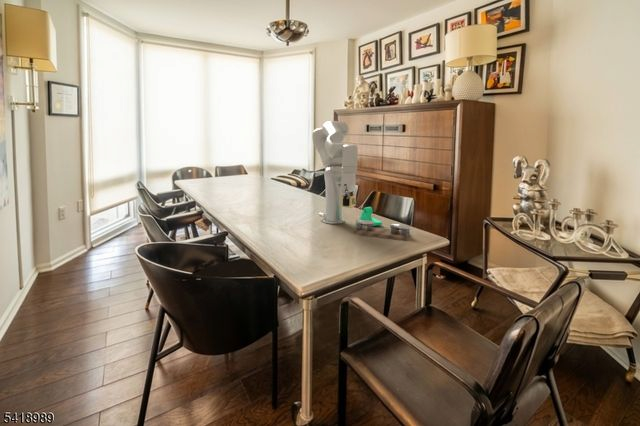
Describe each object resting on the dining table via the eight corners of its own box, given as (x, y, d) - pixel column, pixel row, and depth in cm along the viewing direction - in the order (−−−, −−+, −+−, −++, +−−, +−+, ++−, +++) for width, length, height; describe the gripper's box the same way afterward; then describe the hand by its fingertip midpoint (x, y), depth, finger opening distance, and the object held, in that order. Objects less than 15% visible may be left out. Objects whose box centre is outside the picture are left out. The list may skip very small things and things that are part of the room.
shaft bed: (354, 233, 183) (354, 230, 182) (360, 228, 192) (360, 225, 192) (405, 240, 172) (405, 237, 172) (409, 234, 182) (409, 231, 182)
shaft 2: (389, 233, 179) (389, 224, 178) (392, 231, 182) (393, 222, 181) (406, 236, 174) (407, 226, 173) (409, 234, 177) (410, 224, 176)
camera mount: (382, 226, 197) (383, 208, 195) (370, 228, 194) (371, 209, 192) (371, 221, 208) (371, 204, 205) (359, 222, 205) (360, 205, 203)
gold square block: (339, 206, 182) (339, 195, 180) (343, 204, 187) (343, 192, 185) (352, 208, 179) (353, 196, 177) (356, 205, 184) (357, 194, 183)
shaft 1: (355, 229, 184) (355, 220, 183) (356, 227, 189) (357, 218, 187) (373, 231, 182) (373, 222, 181) (374, 228, 186) (374, 220, 185)
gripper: (348, 167, 187) (347, 200, 192) (335, 171, 172) (334, 207, 177) (361, 168, 184) (360, 202, 189) (350, 172, 169) (349, 209, 174)
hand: (348, 204), depth 183 cm, fingers closed on gold square block, 6 cm apart
